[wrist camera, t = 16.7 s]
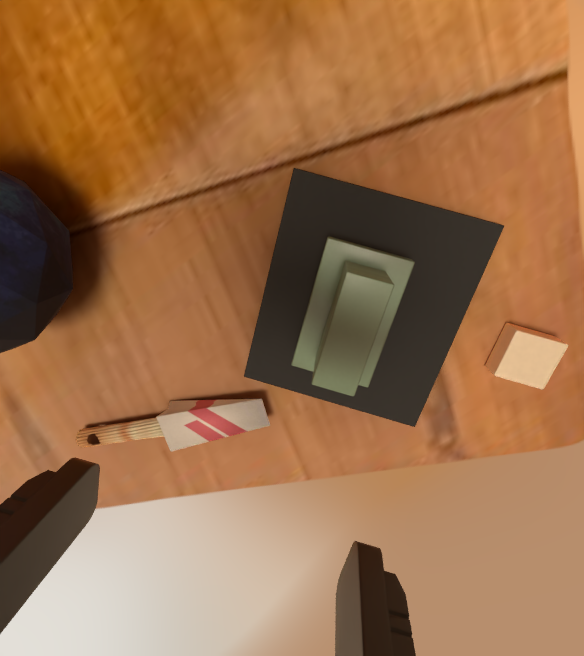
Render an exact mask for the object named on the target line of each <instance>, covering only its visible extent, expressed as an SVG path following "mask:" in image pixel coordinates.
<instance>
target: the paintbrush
mask: <svg viewBox="0 0 584 656" xmlns="http://www.w3.org/2000/svg"><path fill="white" fill-rule="evenodd" d="M266 426H270V423H269V420H268V417H267V414H266V410H265V407H264V404H263V401H262V399H227V400H185V401H170V403H169V408H168V409H167V410H165V411H164V412H162V413H161V414H159V415H158V416H157V418H151V419H144V420H138V421H132V422H126V423H119V424H112V425H105V426H98V427H91V428H84V429H82V430H80V431H79V432H78V433H77V436H76V441H77V443H78V446H80V447H90V446H97V445H104V444H111V443H118V442H125V441H132V440H139V439H147V438H155V437H163V436H164V437H165V439H166V442H167V444H168V446H169V449H170V451H175V450H179V449H182V448H186V447H190V446H194V445H198V444H201V443H205V442H209V441H213V440H217V439H220V438H224V437H228V436H232V435H236V434H240V433H243V432H247V431H251V430H255V429H259V428H262V427H266Z"/></svg>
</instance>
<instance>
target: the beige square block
mask: <svg viewBox="0 0 584 656" xmlns="http://www.w3.org/2000/svg"><path fill="white" fill-rule="evenodd" d="M567 347H568V344H566V343H565V342H563V341H562V340H560V339H558V338H557V337H555V336H552V335H549V334H545V333H542V332H538V331H535V330H531V329H528V328H524V327H521V326H517V325H514V324H510V323H506V324H505V326H504V328H503V330H502V332H501V334H500V336H499V338H498V340H497V342H496V344H495V346H494V348H493V350H492V352H491V354H490V356H489V358H488V360H487V363H486V365H485V366H486V367H487V368H488V369H489V370H490V372H491V373H492V374H493V375H494V376H497V377H500V378H504V379H507V380H511V381H514V382H518V383H521V384H525V385H528V386H531V387H535V388H538V389H542V390H543V389H544V388H545V386H546V384H547V382H548V381H549V379H550V377H551V375H552V374H553V372H554V370H555V368H556V367H557V365H558V363H559V361H560V359H561V358H562V356H563V354H564V352H565V351H566V349H567Z"/></svg>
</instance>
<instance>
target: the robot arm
mask: <svg viewBox="0 0 584 656" xmlns="http://www.w3.org/2000/svg"><path fill="white" fill-rule="evenodd" d="M99 472H100V467H99V465H98V464H95V463H92V462H89V461H85V460H82V459H78V458H72V459H70V460H69V461H68V462H66V463H65V464H64V465H63V466H62V467H61V468H60V469H59V470H58V471H57V472H53V471H50V470H47V471H45V472H43V473H41V474H39V475H37V476H35V477H34V478H32V479H30V480H28V481H27V482H25V483H24V484H23V485H22V486H21V487H20V488H19V489H18V490H16V491H15V492H14V493H13V494H12V495H11V497H10V498H7V499H6V500H5V501H4V502H3V503H2V504H1V505H0V633H1V632H2V631H3V629H4V628H5V627H6V626H7V625H8V623H9V622H10V621H11V619H12V618H13V617H14V616H15V615H16V613H17V612H18V611H19V609H20V608H21V607H22V606H23V604H24V603H25V602H26V600H27V599H28V598H29V596H30V595H31V594H32V592H34V590H35V589H36V588H37V587H38V585H39V584H40V583H41V581H42V580H43V579H44V578H45V576H46V575H47V574H48V573H49V571H50V570H51V569H52V568H53V566H54V565H55V564H56V562H57V561H58V560H59V559H60V557H61V556H62V555H63V554H64V552H65V551H66V550H67V548H68V547H69V546H70V545H71V543H72V542H73V541H74V540H75V538H76V537H77V536H78V534H79V533H80V532H81V531H82V529H83V528H84V527H85V526H86V524H87V523H88V522H89V520H90V518H91V517H92V515H93V513H94V510H95V508H96V505H97V499H98V485H99ZM335 656H416V655H415V649H414V643H413V638H412V631H411V625H410V620H409V613H408V607H407V600H406V595H405V592H404V591H403V589H402V586H401V585H400V582H399V581H398V578H397V576H396V575H395V574H393V573H389V572H386V571H384V568H383V560H382V553H381V550H380V548H377V547H374V546H370V545H367V544H364V543H360V542H357V541H355V542H354V543H353V545H352V547H351V550H350V552H349V554H348V557H347V559H346V562H345V564H344V566H343V569H342V571H341V574H340V577H339V580H338V585H337V593H336V634H335Z"/></svg>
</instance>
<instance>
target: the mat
mask: <svg viewBox="0 0 584 656" xmlns="http://www.w3.org/2000/svg"><path fill="white" fill-rule="evenodd" d="M503 228H504V225H500V224H496V223H493V222H489V221H485V220H482V219H478V218H475V217H471V216H467V215H464V214H460V213H456V212H453V211H449V210H445V209H442V208H438V207H434V206H431V205H427V204H423V203H420V202H416V201H413V200H409V199H405V198H402V197H398V196H394V195H391V194H387V193H383V192H380V191H376V190H372V189H369V188H365V187H362V186H358V185H354V184H351V183H347V182H343V181H340V180H336V179H332V178H329V177H325V176H321V175H318V174H314V173H310V172H307V171H303V170H300V169H296V168H294V170H293V174H292V178H291V182H290V186H289V191H288V195H287V199H286V203H285V207H284V211H283V216H282V220H281V224H280V228H279V232H278V236H277V241H276V245H275V249H274V253H273V257H272V262H271V266H270V270H269V274H268V278H267V282H266V287H265V291H264V295H263V299H262V303H261V307H260V312H259V316H258V320H257V324H256V328H255V333H254V337H253V341H252V345H251V349H250V353H249V358H248V362H247V366H246V370H245V374H244V377H247V378H251V379H254V380H258V381H261V382H264V383H268V384H271V385H274V386H278V387H281V388H285V389H288V390H291V391H295V392H298V393H302V394H305V395H308V396H312V397H315V398H319V399H322V400H325V401H329V402H332V403H336V404H339V405H342V406H346V407H349V408H352V409H356V410H359V411H363V412H366V413H369V414H373V415H376V416H380V417H383V418H386V419H390V420H393V421H397V422H400V423H403V424H407V425H410V426H413V427H415V425H416V423H417V421H418V418H419V416H420V414H421V412H422V409H423V407H424V405H425V403H426V400H427V398H428V396H429V394H430V391H431V389H432V387H433V385H434V382H435V380H436V378H437V376H438V374H439V371H440V369H441V367H442V365H443V362H444V360H445V358H446V356H447V353H448V351H449V349H450V347H451V344H452V342H453V340H454V338H455V335H456V333H457V331H458V329H459V326H460V324H461V322H462V320H463V317H464V315H465V313H466V311H467V308H468V306H469V304H470V302H471V299H472V297H473V295H474V293H475V290H476V288H477V286H478V284H479V282H480V279H481V277H482V275H483V273H484V270H485V268H486V266H487V264H488V261H489V259H490V257H491V255H492V252H493V250H494V248H495V246H496V243H497V241H498V239H499V237H500V234H501V232H502V230H503ZM328 236H330V237H333V238H337V239H341V240H344V241H348V242H351V243H355V244H359V245H362V246H366V247H369V248H373V249H377V250H380V251H384V252H387V253H391V254H394V255H398V256H402V257H405V258H409V259H412V260H413V261H414V262H415V264H414V266H413V269H412V272H411V274H410V277H409V280H408V282H407V285H406V288H405V290H404V293H403V296H402V298H401V301H400V304H399V306H398V309H397V312H396V314H395V317H394V320H393V322H392V325H391V328H390V330H389V333H388V336H387V338H386V341H385V344H384V346H383V349H382V352H381V354H380V357H379V360H378V362H377V365H376V368H375V370H374V373H373V376H372V378H371V381H370V384H369V386H368V387H364V386H361V385H358V387H357V390H356V393H355V395H354V396H350V395H346V394H343V393H339V392H336V391H333V390H329V389H326V388H322V387H319V386H315V385H312V377H313V371H309V370H306V369H302V368H299V367H296V366H292V365H291V364H292V360H293V357H294V353H295V350H296V346H297V343H298V339H299V336H300V332H301V329H302V325H303V322H304V318H305V315H306V311H307V308H308V304H309V301H310V297H311V294H312V290H313V287H314V283H315V280H316V276H317V273H318V269H319V265H320V262H321V258H322V255H323V251H324V248H325V244H326V241H327V238H328Z"/></svg>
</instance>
